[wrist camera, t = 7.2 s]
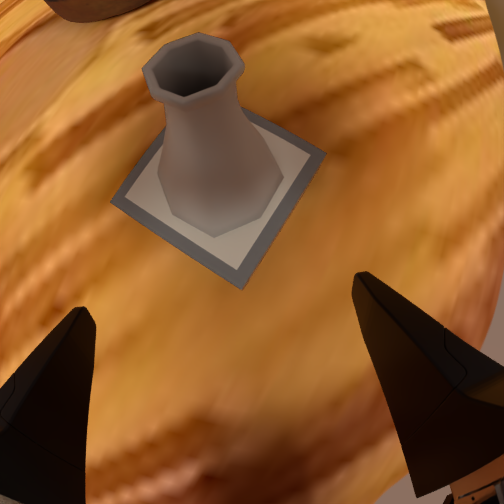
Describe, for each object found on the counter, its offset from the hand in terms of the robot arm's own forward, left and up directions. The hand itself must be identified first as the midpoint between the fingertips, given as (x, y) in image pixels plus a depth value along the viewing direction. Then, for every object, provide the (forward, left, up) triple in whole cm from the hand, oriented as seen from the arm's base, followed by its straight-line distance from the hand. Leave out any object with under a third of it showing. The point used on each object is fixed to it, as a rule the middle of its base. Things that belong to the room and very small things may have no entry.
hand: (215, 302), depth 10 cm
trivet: (+5, -6, -10) cm, 13 cm away
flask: (+5, -6, -8) cm, 11 cm away
